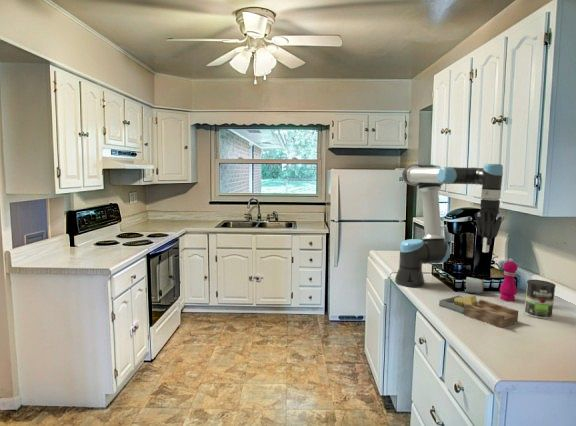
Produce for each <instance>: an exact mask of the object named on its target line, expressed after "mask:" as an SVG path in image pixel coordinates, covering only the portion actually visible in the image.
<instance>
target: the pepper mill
mask: <svg viewBox="0 0 576 426" xmlns="http://www.w3.org/2000/svg"><path fill="white" fill-rule="evenodd" d="M502 268H503V270H504V271H503V275H504V279H503V281H502V283H501V284H500V287H499V292H500V293H501V294H500V295H499V297H500V300H502V301H505V302H516V296H515V295H517V293H518V288H517V286H516V282H515V276H516V273H517V270H518V264H517V263H516V262H514V259H513V258H508V261H505V262H504V263H503V265H502Z"/></svg>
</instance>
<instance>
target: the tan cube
mask: <svg viewBox="0 0 576 426" xmlns="http://www.w3.org/2000/svg"><path fill="white" fill-rule="evenodd" d="M462 297H463V296H462ZM462 297H457V298H454V305H457V306H460V307H463V308H464V305H463V300H462Z"/></svg>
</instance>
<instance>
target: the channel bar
mask: <svg viewBox="0 0 576 426" xmlns="http://www.w3.org/2000/svg"><path fill="white" fill-rule="evenodd" d="M478 302H479V304H478V305H476V306H473V305H470V304H465V309H464V314H463V316H465V317H468V318H471V319H474V320H476V321H480V322H482V323H485V322H486V324H488V323H489V325H491V326H494V327H497V328H500V329H503V328H505V327H508V326H511V325H513V324H516V323H518V322H519V319H518V318H519V310H517V309H514V308H510V307H507V306H505V305H501V304H497V303H494V302H491V301H487V300H484V299H479V300H478Z"/></svg>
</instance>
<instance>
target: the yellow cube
mask: <svg viewBox="0 0 576 426" xmlns="http://www.w3.org/2000/svg"><path fill="white" fill-rule="evenodd" d="M476 296H477V295H466V296H462V300H463V305H464V307H465V304H470V305H473V306H476V305H477V301H478V300H477V297H476Z"/></svg>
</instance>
